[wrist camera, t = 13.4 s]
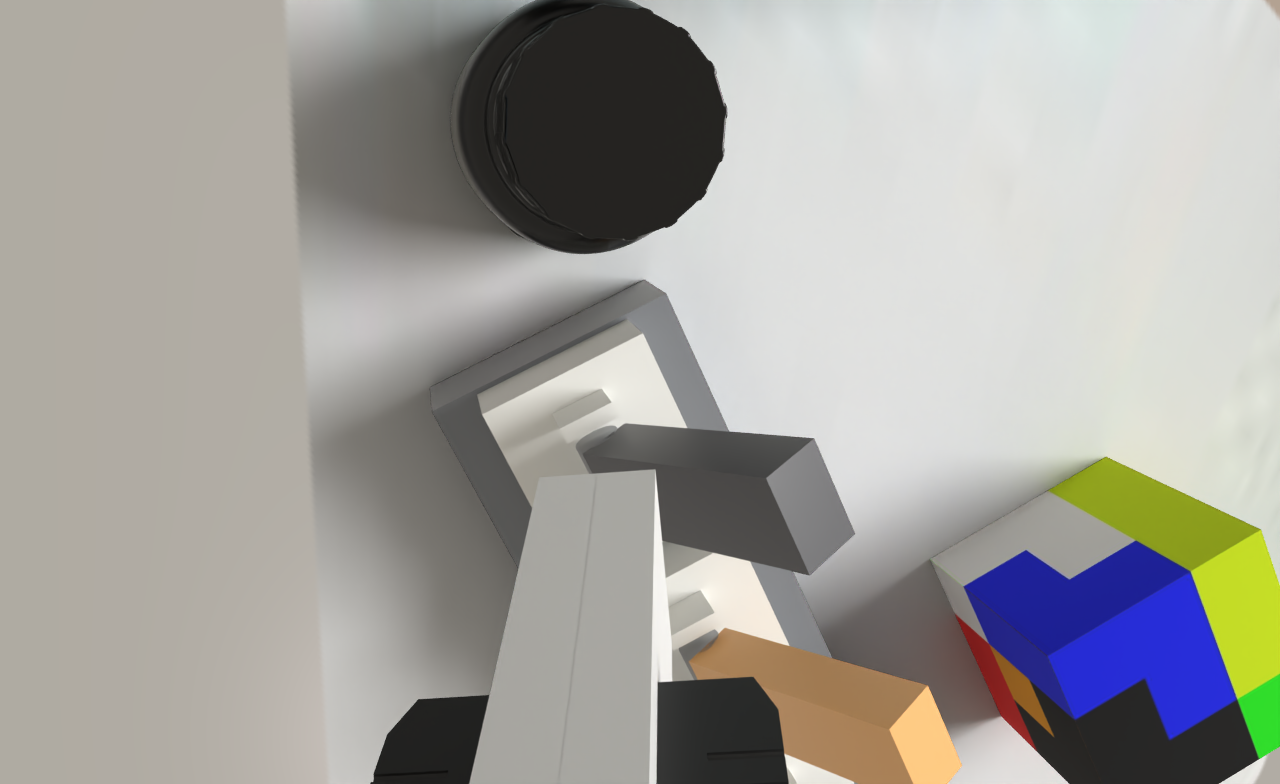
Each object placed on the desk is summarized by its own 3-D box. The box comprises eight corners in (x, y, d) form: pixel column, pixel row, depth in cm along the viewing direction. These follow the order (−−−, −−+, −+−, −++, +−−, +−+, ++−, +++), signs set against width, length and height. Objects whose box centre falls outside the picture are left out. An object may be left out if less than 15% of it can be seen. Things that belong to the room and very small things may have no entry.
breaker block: (647, 278, 45) (792, 369, 28) (863, 748, 53) (1080, 1044, 36) (430, 387, 44) (442, 550, 27) (681, 848, 52) (814, 1200, 35)
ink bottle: (531, 286, 44) (573, 341, 33) (394, 105, 41) (388, 97, 30) (718, 145, 44) (825, 151, 33) (595, -44, 42) (664, -109, 30)
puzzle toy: (929, 558, 51) (1047, 656, 42) (1105, 456, 52) (1260, 529, 42) (1000, 715, 54) (1126, 840, 45) (1166, 617, 55) (1324, 719, 45)
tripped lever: (702, 621, 41) (927, 685, 32) (735, 686, 42) (962, 765, 33) (667, 654, 40) (889, 729, 31) (700, 719, 41) (925, 810, 32)
